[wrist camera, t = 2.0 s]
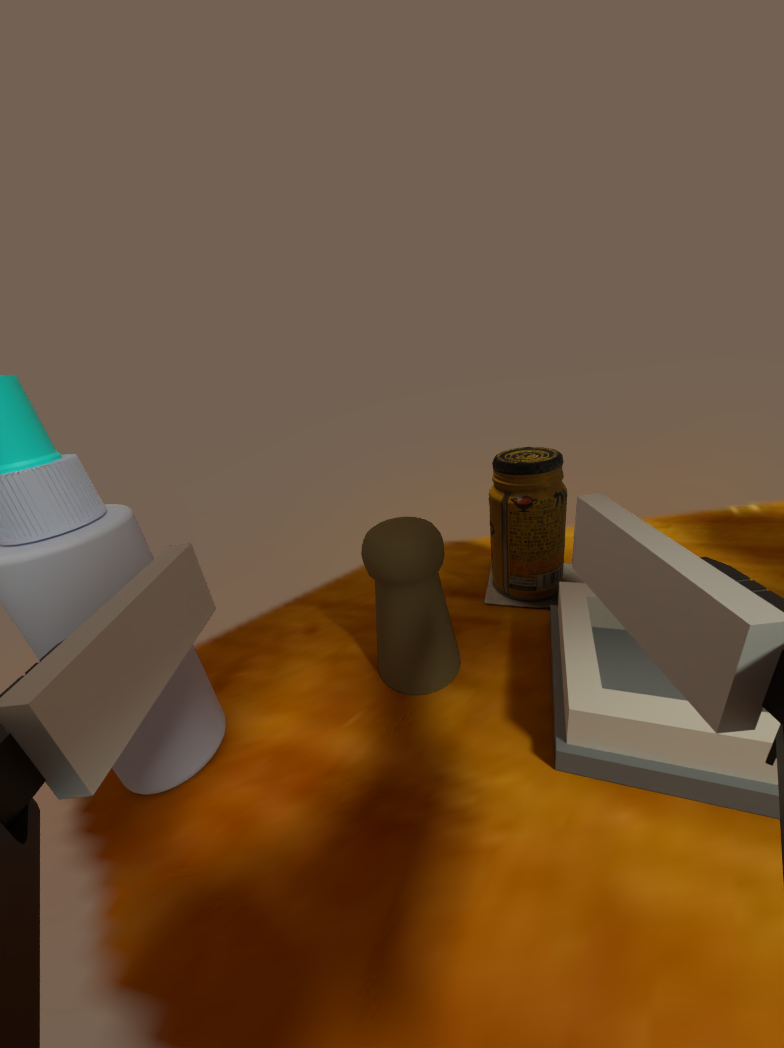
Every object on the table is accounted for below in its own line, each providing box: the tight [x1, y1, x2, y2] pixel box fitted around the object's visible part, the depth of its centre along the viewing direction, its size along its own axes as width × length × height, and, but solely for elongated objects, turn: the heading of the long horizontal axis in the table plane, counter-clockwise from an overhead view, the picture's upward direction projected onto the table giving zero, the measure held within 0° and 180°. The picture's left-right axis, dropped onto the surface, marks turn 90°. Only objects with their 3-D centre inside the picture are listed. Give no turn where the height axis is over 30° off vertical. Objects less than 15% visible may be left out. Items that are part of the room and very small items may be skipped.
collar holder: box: [550, 582, 780, 819], centre depth 22 cm, size 12×12×4 cm
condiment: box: [484, 447, 585, 608], centre depth 32 cm, size 7×8×12 cm
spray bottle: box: [0, 375, 226, 795], centre depth 20 cm, size 6×6×22 cm
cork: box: [361, 517, 461, 695], centre depth 26 cm, size 6×6×11 cm
